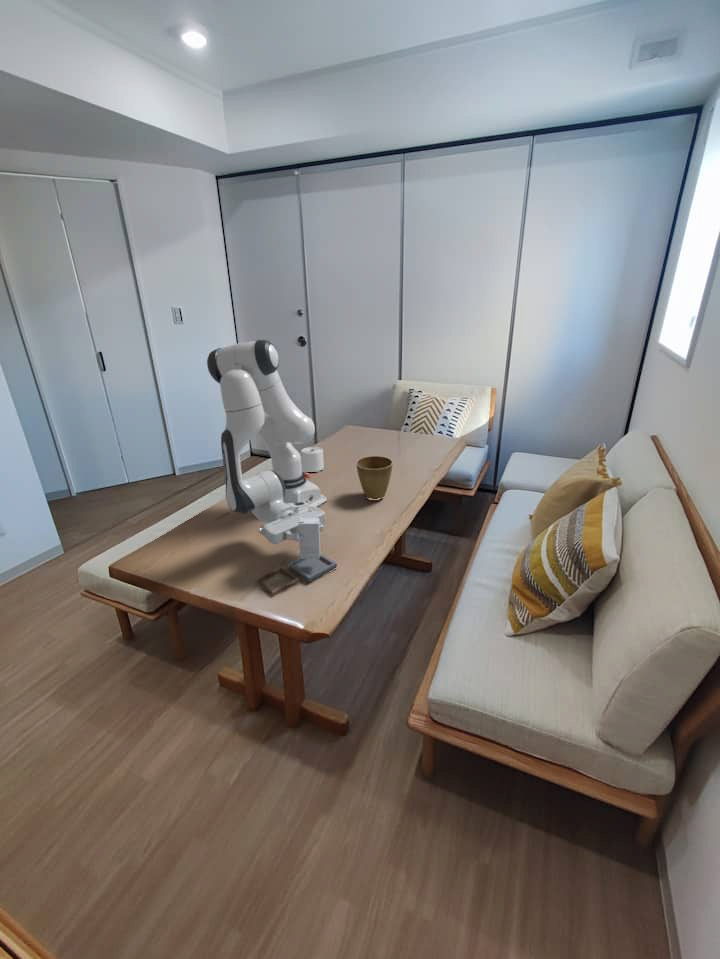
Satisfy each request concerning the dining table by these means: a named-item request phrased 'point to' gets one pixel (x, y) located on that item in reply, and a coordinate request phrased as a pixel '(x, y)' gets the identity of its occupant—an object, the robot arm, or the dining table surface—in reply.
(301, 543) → the skincare box
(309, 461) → the toilet tissue
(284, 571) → the brown wooden square frame
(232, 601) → the dining table surface
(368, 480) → the plant pot
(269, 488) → the robot arm
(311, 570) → the tray
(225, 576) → the dining table surface
